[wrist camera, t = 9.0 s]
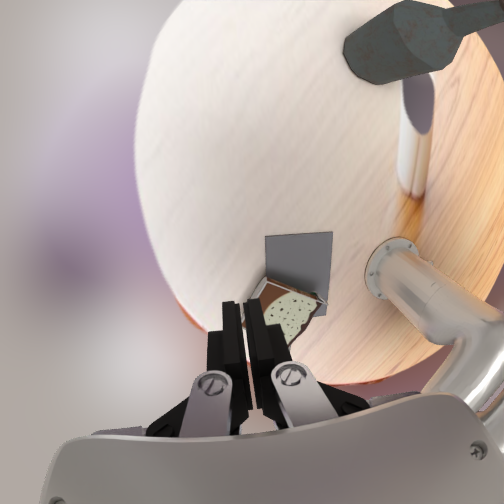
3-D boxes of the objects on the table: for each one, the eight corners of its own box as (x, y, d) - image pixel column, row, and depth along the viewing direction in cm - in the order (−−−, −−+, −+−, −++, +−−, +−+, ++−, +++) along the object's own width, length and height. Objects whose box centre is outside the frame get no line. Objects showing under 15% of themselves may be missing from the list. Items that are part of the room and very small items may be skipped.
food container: (240, 312, 48) (288, 334, 49) (234, 332, 43) (288, 356, 43) (273, 256, 44) (325, 283, 45) (271, 272, 38) (330, 302, 39)
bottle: (331, 35, 31) (458, -51, 3) (377, 30, 30) (503, -26, 3) (358, 90, 35) (519, 56, 7) (400, 80, 34) (546, 62, 6)
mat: (331, 231, 43) (332, 232, 43) (325, 314, 49) (325, 315, 48) (265, 236, 42) (265, 237, 42) (267, 321, 48) (267, 322, 48)
